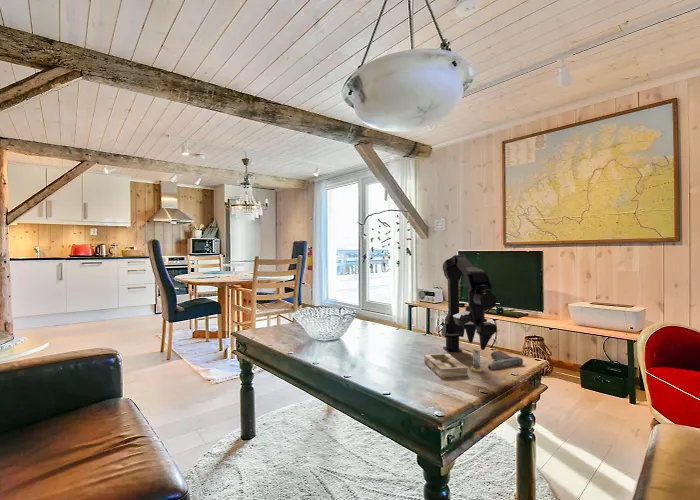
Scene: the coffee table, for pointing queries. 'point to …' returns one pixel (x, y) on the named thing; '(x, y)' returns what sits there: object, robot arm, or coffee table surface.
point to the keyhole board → (445, 365)
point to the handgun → (503, 360)
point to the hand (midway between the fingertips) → (476, 346)
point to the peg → (476, 362)
